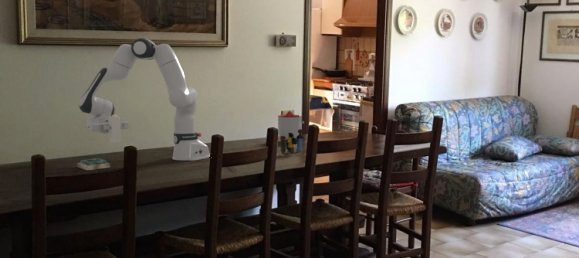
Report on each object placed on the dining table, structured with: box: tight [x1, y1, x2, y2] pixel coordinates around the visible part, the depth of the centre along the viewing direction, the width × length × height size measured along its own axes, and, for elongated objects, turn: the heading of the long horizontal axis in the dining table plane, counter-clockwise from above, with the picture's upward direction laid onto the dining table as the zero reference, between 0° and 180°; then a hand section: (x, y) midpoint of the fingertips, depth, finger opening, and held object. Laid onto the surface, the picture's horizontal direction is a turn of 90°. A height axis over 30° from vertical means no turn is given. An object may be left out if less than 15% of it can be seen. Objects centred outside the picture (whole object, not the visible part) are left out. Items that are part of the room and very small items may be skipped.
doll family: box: [278, 128, 306, 157], centre depth 344 cm, size 23×9×13 cm, turn 160°
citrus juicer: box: [277, 110, 305, 142], centre depth 391 cm, size 16×17×20 cm
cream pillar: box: [108, 114, 122, 144], centre depth 310 cm, size 4×4×14 cm
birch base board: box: [76, 157, 111, 171], centre depth 304 cm, size 12×12×4 cm
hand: (115, 127), depth 309 cm, fingers closed on cream pillar, 4 cm apart
